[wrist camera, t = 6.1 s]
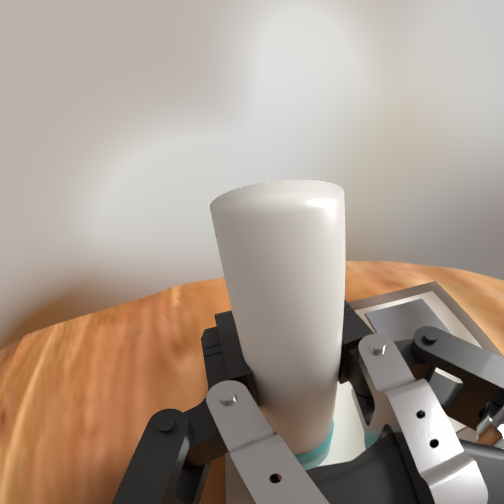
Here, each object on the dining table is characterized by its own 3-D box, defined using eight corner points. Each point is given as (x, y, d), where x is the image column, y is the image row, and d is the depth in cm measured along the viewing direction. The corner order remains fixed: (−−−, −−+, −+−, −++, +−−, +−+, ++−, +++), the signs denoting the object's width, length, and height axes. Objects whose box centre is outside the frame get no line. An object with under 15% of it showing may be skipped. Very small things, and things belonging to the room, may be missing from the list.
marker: (269, 476, 11) (198, 231, 5) (263, 425, 14) (211, 189, 8) (336, 464, 11) (373, 205, 5) (323, 415, 14) (323, 174, 8)
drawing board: (232, 522, 9) (224, 517, 9) (229, 335, 24) (225, 320, 23) (525, 412, 9) (537, 396, 9) (432, 293, 24) (435, 278, 23)
